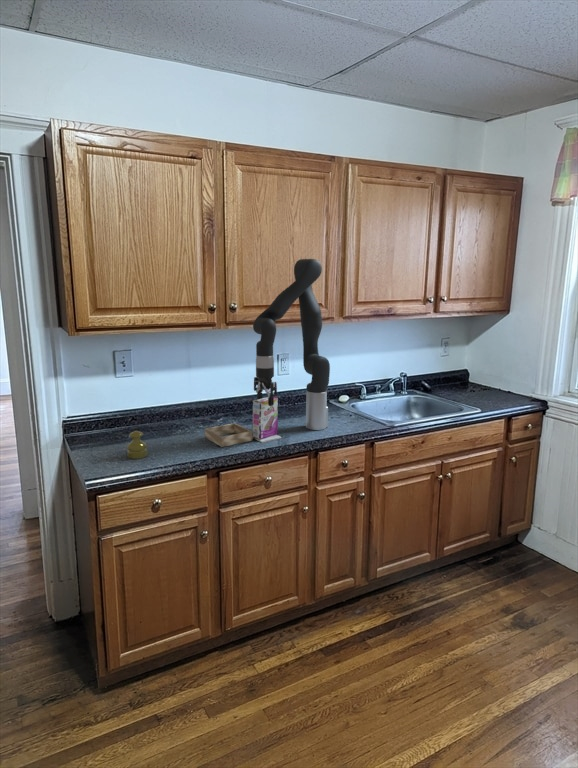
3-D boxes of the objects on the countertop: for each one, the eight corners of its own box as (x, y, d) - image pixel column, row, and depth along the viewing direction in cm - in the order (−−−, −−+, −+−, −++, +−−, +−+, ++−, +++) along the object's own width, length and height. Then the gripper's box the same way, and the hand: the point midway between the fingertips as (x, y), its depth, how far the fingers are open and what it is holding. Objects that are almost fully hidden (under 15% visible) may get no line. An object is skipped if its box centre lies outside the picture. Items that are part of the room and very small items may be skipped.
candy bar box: (260, 440, 221) (260, 402, 217) (252, 437, 224) (251, 400, 221) (278, 434, 229) (278, 397, 226) (270, 431, 232) (270, 395, 229)
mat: (268, 432, 234) (268, 431, 233) (281, 438, 226) (281, 437, 225) (249, 436, 228) (249, 435, 228) (261, 442, 220) (261, 441, 220)
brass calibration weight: (149, 452, 207) (147, 428, 205) (144, 459, 200) (143, 434, 198) (130, 452, 207) (128, 428, 205) (125, 459, 200) (123, 434, 198)
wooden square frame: (235, 431, 234) (234, 423, 233) (252, 440, 223) (252, 431, 222) (205, 437, 226) (205, 428, 225) (221, 446, 214) (221, 437, 213)
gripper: (282, 367, 216) (282, 405, 220) (263, 362, 228) (263, 398, 231) (266, 369, 212) (267, 408, 216) (248, 364, 223) (248, 401, 227)
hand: (265, 403), depth 223 cm, fingers open, 8 cm apart
